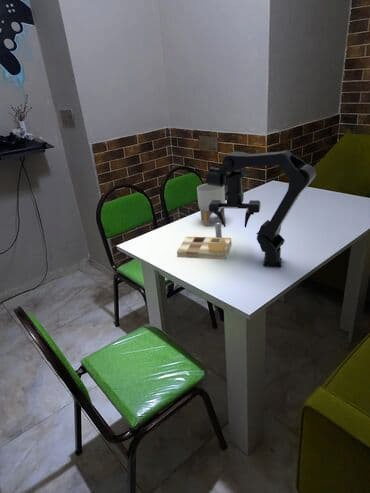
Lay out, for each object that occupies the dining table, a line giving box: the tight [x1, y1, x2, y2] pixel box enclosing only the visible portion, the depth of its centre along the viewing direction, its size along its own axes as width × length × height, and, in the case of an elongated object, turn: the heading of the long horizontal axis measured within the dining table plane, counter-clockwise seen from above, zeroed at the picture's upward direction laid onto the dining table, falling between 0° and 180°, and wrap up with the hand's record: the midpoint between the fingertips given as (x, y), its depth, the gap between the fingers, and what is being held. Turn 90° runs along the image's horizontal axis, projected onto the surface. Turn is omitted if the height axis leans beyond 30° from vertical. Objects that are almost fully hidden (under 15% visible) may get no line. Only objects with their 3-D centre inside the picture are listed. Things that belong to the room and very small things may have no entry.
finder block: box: [208, 237, 226, 252], centre depth 138 cm, size 5×6×4 cm
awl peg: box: [214, 221, 223, 238], centre depth 150 cm, size 3×3×8 cm
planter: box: [196, 183, 226, 227], centre depth 167 cm, size 13×13×18 cm
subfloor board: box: [176, 236, 232, 260], centre depth 144 cm, size 14×20×2 cm
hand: (235, 226), depth 133 cm, fingers open, 8 cm apart
